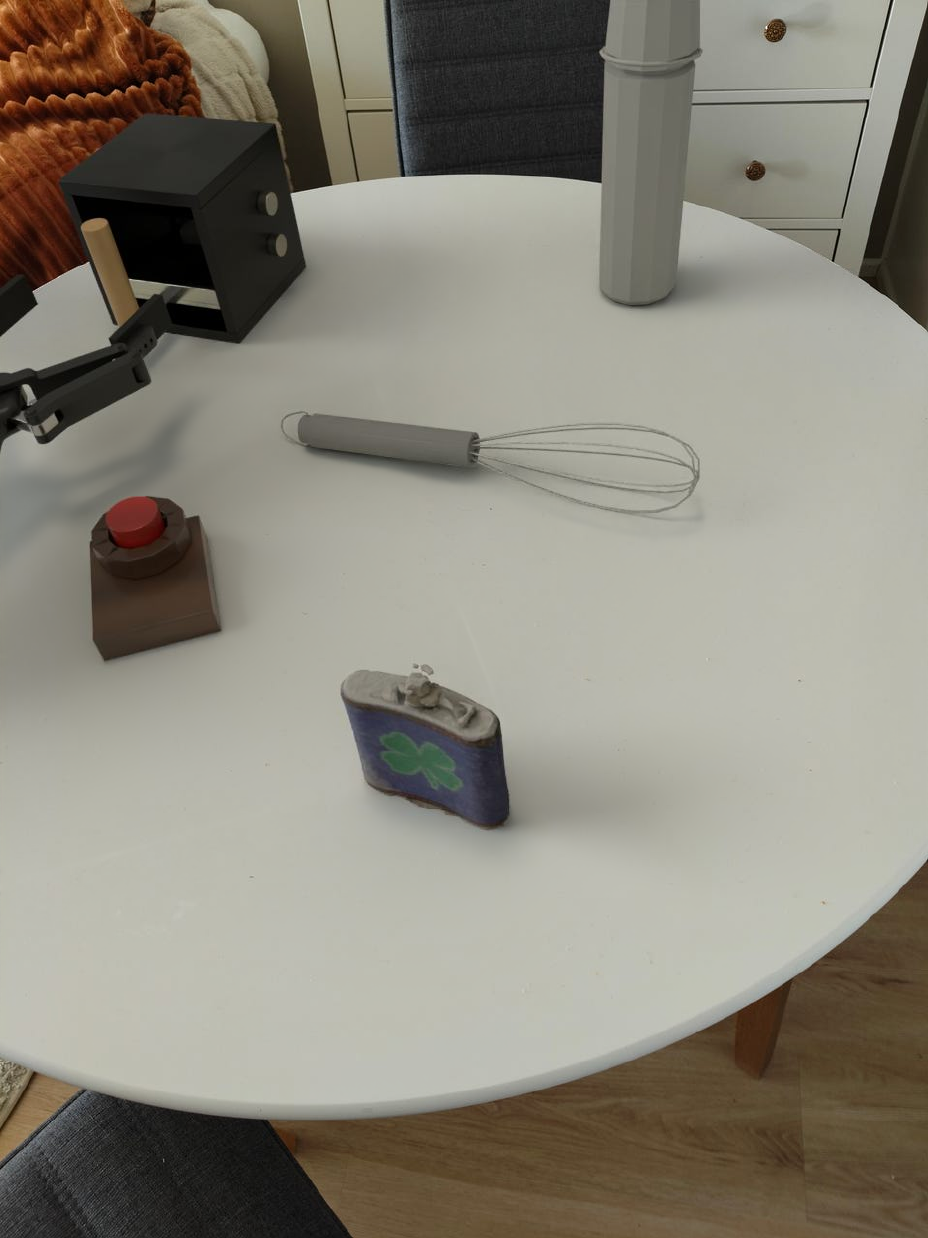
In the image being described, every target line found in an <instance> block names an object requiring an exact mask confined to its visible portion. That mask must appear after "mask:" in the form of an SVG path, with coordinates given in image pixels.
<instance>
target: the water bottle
mask: <svg viewBox="0 0 928 1238" xmlns="http://www.w3.org/2000/svg"><path fill="white" fill-rule="evenodd" d="M608 10H609V11H608V21H607V26H606V27H607V28H606V29H607V30H606V37H605V45H604V46H603V47H602V48H601V49H600V50H599V53H598V54H599V55H600V56H601V58H602V59H604V73H603V107H602V108H603V109H602V110H603V111H602V113H603V114H602V152H601V187H600V188H601V189H600V190H601V191H600V229H599V230H600V233H599V264H598V265H599V267H598V268H599V269H598V277H599V278H598V280H599V289H600V291H601V292H602V293H603V294H604V295H605V296H607V298H609V300H611V301H612V302H615V303H616V302H617V303H621V304H624V305H627V306H637V305H638V306H639V305H641V306H642V305H643V306H644V305H650V304H652V303H655V302H658V301H661V300H663V299H664V298H666V297H667V296H668V295H669V294H670V293H671V291H672V290H674V288H675V287H676V286H677V278H678V267H679V266H678V265H679V254H680V242H681V231H682V220H683V209H684V197H685V187H686V177H687V176H686V175H687V165H688V154H689V153H688V152H689V144H690V143H689V141H690V131H691V122H692V121H691V120H692V111H693V110H692V108H693V97H694V88H695V87H694V86H695V75H696V62H695V60H696V59H699V58H701V56H702V54H703V52H704V50H703V49H702V48H701V0H610V2H609V9H608Z"/></svg>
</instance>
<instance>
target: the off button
mask: <svg viewBox="0 0 928 1238" xmlns="http://www.w3.org/2000/svg"><path fill="white" fill-rule="evenodd" d="M107 512H108V513H107V515H106V524H107V526H108V528H109V530H110V532H111V534H112V536H113V539H114V541H115V542H116V544H117V545H119V546H120V547H122V548H127V549H134V548H138V547H142V546H146V545H149V544H150V543H152V542H153V541H155V540H157V539H158V538H160V537H161V536H162V534H163V532H164V529H165V523H164V521H163V518H162V516H161V514H160V511H159V509H158V506H157V504H156V503H155V502H154V501H153V500H152V499H150V498H147V497H145V496H143V495H139V496H138V495H137V496H130V497H127V498H124V499H122V500H120V501H118V502H116V503H115V504H113V506H111V507H110V508H109V510H107Z"/></svg>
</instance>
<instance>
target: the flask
mask: <svg viewBox="0 0 928 1238" xmlns="http://www.w3.org/2000/svg"><path fill="white" fill-rule="evenodd" d="M419 667H420V670H421V672H411V673H410V674H409V676H407V675H402V674H394V673H389V672H384V671H379V670H368V669H359V670H355V671H354V672H353V673H351V674H349V675H348V676H347V677H346V678H345V679H343V680H342V682H341V684H340V697H341V700H342V702H343V705H344V707H345V710H346V714H347V717H348V720H349V724H350V728H351V730H352V734H353V739H354V742H355V745H356V749H357V753H358V757H359V760H360V761H359V762H360V765H361V770H362V773H363V774H362V775H363V777H364V780H365V782H366V783H367V785H369V786H370V787H372V788H373V789H374V790H375V791H377V792H380V793H382V794H383V795H387V796H390V797H391V795H395V796H398V797H400V798H401V799H402V798H403V799H406V801H409V802H410V803H411V804H414V805H417V808H421V807H422V808H424V809H440V810H442V811H444V814H445V816H448V815H449V816H451V815H452V816H456V817H459V818H460V819H461V820H463V823H469V824H472V825H473V826H476V827H478V828H480V829H482V830H492V829H496V828H499V827H505V822H506V821H507V820H508V817H509V816H510V809H511V808H510V791H509V785H508V781H507V774H506V766H505V757H504V756H505V755H504V746H503V745H504V743H503V734H502V727H501V721H500V719H499V716H498V715H497V714H496V713H495V712H494V711H493V710H492V709H490V708H488V707H486V706H485V705H482V704H481V703H478V702H476V701H475V700H473V699H471V698H469V697H468V696H466V695H463V694H462V693H459V692H458V691H455V690H453V689H450V688H447V687H445V686H442V685H440V684H439V683H436V682H431V681H430V679H429V677H428V676H431V675H434V673H435V672H434V669H433V668H432V667H431V666H430V665H429V664H425V663H424V664H421V665H420V666H419V665H418V664H413V665H412V668H413V669H419ZM422 672H424V673H426V674H427V675H428V676H427V675H425V674H424V675H423V673H422Z"/></svg>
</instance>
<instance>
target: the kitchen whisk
mask: <svg viewBox="0 0 928 1238" xmlns="http://www.w3.org/2000/svg"><path fill="white" fill-rule="evenodd" d="M298 414H303V415H302V416H301V417H300V419H299V421H298V423H297V437H298V440H299V441H297V440H295V439H294V438H291V437H290V436H289V435H288V434H287V433H286V432H285V430H284V421H285V420H286V419H287V418H288V417H290V416H294V415H298ZM579 426H594V427H579ZM595 426H596V427H595ZM608 426H611V427H608ZM612 426H613V427H612ZM615 426H616V427H615ZM617 426H623V427H617ZM565 427H572V428H565ZM280 428H281V431H282V433H283V435H284V436H285V437H286V438H287V439H289V440H290V441H291V442H293V443H295V444H298V445H300V446H303V447H306V448H307V447H312V448H317V449H326V450H332V451H333V450H334V451H340V452H349V453H356V454H364V455H372V456H378V457H387V458H394V459H401V460H411V461H417V462H424V463H433V464H439V465H449V466H455V467H463V468H464V467H465V468H475V466H476V464H477V463H478V464H480V465H482V466H485V467H486V468H489V470H493V471H495V472H497V473H500V474H501V475H504V476H506V477H508V478H511V479H513V480H516V481H518V482H520V483H522V484H524V485H528V486H530V487H533V488H535V489H538V490H541V491H543V492H546V493H548V494H551V495H554V496H558V497H561V498H564V499H567V500H570V501H573V502H577V503H579V504H584V505H588V506H593V507H596V508H599V509H604V510H608V511H616V512H621V513H628V514H660V513H663V512H666V511H669V510H673V509H677V508H678V507H679V506H680V505H681V504H682V503H683V502H685V501H686V500H688V499H689V498H691V497H692V495H693V493H694V491H695V489H696V487H697V485H698V483H699V481H700V478H701V465H700V463H701V462H700V461H701V460H700V457H699V456H698V455H697V454H696V452H695V451H694V449H693V448H692V446H691V444H689V443H687V442H685V441H683V440H681V439H680V438H677V437H676V436H674V435H671V434H669V433H668V432H666V431H663V430H659V429H656V428H653V427H649V426H645V425H641V424H640V425H638V424H629V423H620V422H584V423H572V424H571V423H569V424H558V425H549V426H542V427H535V428H529V429H522V430H516V431H512V432H511V431H510V432H506V433H500V434H496V435H491V436H486V437H482V438H480V435H479V433H478V432H475V431H467V430H460V429H459V430H458V429H451V428H442V427H435V426H434V427H433V426H427V425H426V426H425V425H417V424H408V423H399V422H390V421H381V420H374V419H365V418H357V417H351V416H350V417H349V416H348V417H347V416H341V415H340V416H339V415H333V414H323V413H313V414H309V413H308V412H307V411H303V410H300V411H296V412H292V413H291V412H290V413H288V414H287V415H285V416H284V417H283V418H282V420H281V422H280ZM556 428H561V429H556ZM545 429H549V430H545ZM538 430H540V431H538ZM583 430H584V431H585V430H626V431H637V432H646V433H652V434H653V433H654V434H657V435H660V436H664V437H668V438H671V439H672V440H674V441H676V442H678V443H679V444H681V445H682V447H683V449H685V451H686V452H687V454H688V455H689V456H690V458H691V461H692V462H691V463H692V466H691V465H690V464H688V463H687V462H685V461H683V460H681V459H680V458H678V457H676V456H672V455H670V454H666V453H663V452H660V451H656V450H652V449H646V448H641V447H637V446H636V447H635V446H628V445H619V444H609V443H597V442H596V443H595V442H576V441H575V442H573V441H516V442H513V441H512V442H489V441H495V440H500V439H501V440H502V439H508V438H515V437H522V436H530V435H537V434H544V433H545V434H546V433H556V432H557V433H558V432H569V431H583ZM483 442H484V443H483ZM485 442H489V443H485ZM503 445H504V446H505V447H504V446H503ZM507 445H585V446H598V447H599V446H600V447H611V448H619V449H629V450H636V451H641V452H646V453H651V454H657V455H659V456H663V457H667V458H670V459H672V460H668V459H662V458H656V457H650V456H643V455H632V454H623V453H613V452H603V451H602V452H601V451H585V450H575V449H574V450H573V449H572V450H571V449H554V448H552V449H551V448H534V447H533V448H532V447H531V448H529V447H506V446H507ZM502 446H503V447H502ZM688 448H689V449H688ZM483 449H486V450H487V449H488V450H489V449H490V450H517V451H518V450H519V451H520V450H521V451H541V452H543V451H545V452H562V453H578V454H579V453H580V454H593V455H607V456H608V455H609V456H617V457H629V458H636V459H644V460H645V459H647V460H653V461H659V462H663V463H664V462H665V463H669V464H675V465H678V466H681V467H685V468H688V469H690V471H691V473H692V474H693V479H692V480H690V481H688V482H683V483H678V484H677V483H676V484H646V483H632V482H625V481H616V480H609V479H601V478H594V477H588V476H584V475H583V476H582V475H577V474H572V473H567V472H562V471H557V470H552V469H546V468H543V467H537V466H533V465H526V464H524V463H519V462H515V461H509V460H505V459H501V458H498V457H493V456H489V455H486V454H481V453H480V452H481V450H483ZM691 452H692V453H691ZM692 454H693V455H694V456H693V455H692ZM479 457H480V458H483V459H487V460H491V461H494V462H498V463H502V464H505V465H509V466H513V467H518V468H521V469H525V470H529V471H533V472H536V473H540V474H546V475H550V476H553V477H558V478H562V479H566V480H571V481H576V482H581V483H584V484H585V483H586V484H590V485H596V486H601V487H607V488H613V489H618V490H624V491H633V492H639V493H654V494H674V493H675V494H677V493H683V492H685V491H688V492H687V493H688V494H687V495H686V496H685V497H683V499H681V500H680V501H679V502H677V503H676V504H673V505H671V506H667V507H663V508H659V509H653V510H652V509H649V510H648V509H647V510H646V509H645V510H642V509H641V510H640V509H639V510H637V509H636V510H635V509H634V510H631V509H623V508H618V507H617V508H616V507H609V506H604V505H600V504H595V503H591V502H587V501H583V500H579V499H577V498H573V497H570V496H567V495H563V494H561V493H558V492H555V491H552V490H550V489H547V488H545V487H542V486H539V485H537V484H533V483H531V482H528V481H526V480H524V479H521V478H519V477H517V476H515V475H512V474H509V473H508V472H505V471H503V470H500V469H498V468H496V467H494V466H492V465H489V464H487V463H486V462H483V461H481V460H479ZM695 458H696V461H697V469H696V467H695ZM583 479H584V480H583ZM588 480H591V481H588ZM593 481H597V482H593ZM598 482H603V483H598ZM604 483H609V484H604ZM610 483H611V484H618V485H625V486H637V487H649V488H674V487H681V486H686V485H690V486H688V487H686V488H684V489H680V490H667V491H666V490H665V491H664V490H663V491H662V490H647V489H646V490H645V489H637V488H629V487H622V486H615V485H610Z"/></svg>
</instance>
